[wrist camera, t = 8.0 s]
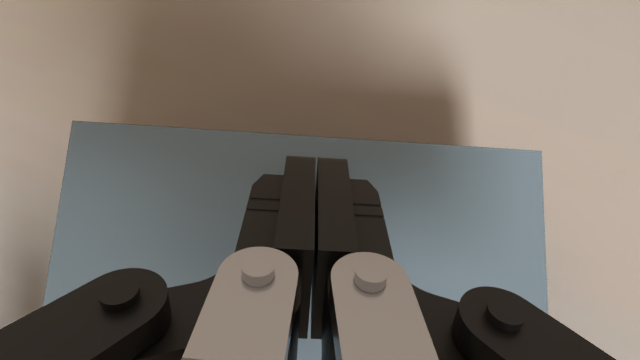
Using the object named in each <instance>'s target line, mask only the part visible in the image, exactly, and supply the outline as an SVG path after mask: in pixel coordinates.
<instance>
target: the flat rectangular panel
mask: <svg viewBox="0 0 640 360" xmlns="http://www.w3.org/2000/svg"><path fill="white" fill-rule="evenodd" d="M286 156H302V157H316V166H315V188H316V174H317V162H318V157H320V158H337V159H347V161H348V169H349V177H350V179H362V180H368V181H369V182H370V183H371V184H372V185H373V187H374V188H375V189H376V190H377V191H378V193H379V197H380V201H381V208H382V210H383V214H384V219H385V223H386V227H387V232H388V236H389V240H390V245H391V249H392V253H393V258H394V261H395V262H397V263H398V264H399V265H400V266H401V267H402V268H403V269H404V270H405V271H406V273H407V275H408V277H409V279H410V282H411V284H413V285H414V286H416V287H418V288H419V289H422V290H424V291H426V292H429V293H431V294H434V295H438V296H441V297H444V298H448V299H451V300H455V301H458V302H460V299H461V297H462V296H463V294H465V293H466V292H467V291H468V290H470V289H473V288H476V287H482V286H490V287H497V288H501V289H505V290H507V291H510V292H513V293H515V294H517V295H519V296H521V297H522V298H524V299H526V300H527V301H529V302H530V303H532V304H533V305H535V306H536V307H538V308H539V309H541V310H542V311H544V312H545V313H547V314H548V302H547V277H546V252H545V226H544V201H543V176H542V151H533V150H518V149H502V148H487V147H471V146H456V145H440V144H425V143H410V142H394V141H379V140H363V139H348V138H332V137H317V136H301V135H286V134H270V133H255V132H239V131H224V130H208V129H193V128H177V127H162V126H146V125H131V124H115V123H100V122H84V121H72V126H71V132H70V139H69V145H68V151H67V157H66V164H65V170H64V176H63V182H62V189H61V195H60V201H59V207H58V214H57V220H56V226H55V232H54V239H53V245H52V251H51V257H50V264H49V270H48V276H47V282H46V289H45V295H44V301H43V306H45V305H47V304H49V303H51V302H53V301H54V300H56V299H58V298H60V297H62V296H64V295H66V294H67V293H69V292H71V291H73V290H75V289H77V288H79V287H80V286H82V285H84V284H86V283H88V282H90V281H92V280H94V279H95V278H97V277H99V276H101V275H104V274H106V273H109V272H112V271H115V270H119V269H125V268H143V269H148V270H151V271H153V272H156V273H157V274H159V275H160V276H161V277H162V278H163V279H164V280H165V282H166V284H167V288H169V287H174V286H179V285H185V284H190V283H194V282H199V281H202V280H205V279H208V278H210V277H212V276H214V275H216V273H217V271H218V268H219V267H220V265H221V263H222V262H223V261H224V260H225V259H226V258H227V257H228V256H230V255H231V254H233V253H234V252H235V249H236V245H237V241H238V237H239V234H240V230H241V226H242V222H243V218H244V215H245V211H246V207H247V203H248V200H249V195H250V192H251V188H252V184H253V183H255V182H256V181H257V180H258V179H259V178H260V177H261V176H262V175H263V174H274V175H284V169H285V163H286ZM311 291H312V286H311ZM321 357H322V339H311V299H310V311H309V324H308V336H307V339H301V338H298V352H297V360H321Z"/></svg>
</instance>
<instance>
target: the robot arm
mask: <svg viewBox="0 0 640 360" xmlns="http://www.w3.org/2000/svg"><path fill="white" fill-rule="evenodd" d="M315 166H316V157H302V156H286V163H285V169H284V175H274V174H263V175H262V176H261V177H260V178H259V179H258V180H257V181H256V182H255V183H253V184H252V188H251V192H250V195H249V200H248V203H247V207H246V211H245V215H244V218H243V222H242V226H241V230H240V234H239V237H238V241H237V245H236V249H235V252H234V253H233V254H231V255H230V256H228V257H227V258H226V259H225V260H224V261H223V262H222V263H221V265H220V267H219V268H218V271H217V273H216V275H214V276H212V277H210V278H208V279H205V280H202V281H199V282H194V283H190V284H185V285H179V286H174V287H169V288H167V284H166V282H165V280H164V279H163V278H162V277H161V276H160V275H159V274H157V273H156V272H153V271H151V270H148V269H143V268H125V269H119V270H115V271H112V272H109V273H106V274H104V275H101V276H99V277H97V278H95V279H94V280H92V281H90V282H88V283H86V284H84V285H82V286H80V287H79V288H77V289H75V290H73V291H71V292H69V293H67V294H66V295H64V296H62V297H60V298H58V299H56V300H54V301H53V302H51V303H49V304H47V305H45V306H43V307H41V308H39V309H38V310H36V311H34V312H32V313H30V314H28V315H26V316H25V317H23V318H21V319H19V320H17V321H15V322H13V323H12V324H10V325H8V326H6V327H4V328H2V329H0V360H297V352H298V338H301V339H307V336H308V324H309V311H310V299H311V339H322V357H321V360H616V359H614V358H613V357H611V356H610V355H608V354H607V353H605V352H604V351H602V350H601V349H599V348H598V347H596V346H595V345H593V344H592V343H590V342H589V341H587V340H586V339H584V338H583V337H581V336H580V335H578V334H577V333H575V332H574V331H572V330H571V329H569V328H568V327H566V326H565V325H563V324H562V323H560V322H559V321H557V320H556V319H554V318H553V317H551V316H550V315H548V314H547V313H545V312H544V311H542V310H541V309H539V308H538V307H536V306H535V305H533V304H532V303H530V302H529V301H527V300H526V299H524V298H522V297H521V296H519V295H517V294H515V293H513V292H510V291H507V290H505V289H501V288H497V287H490V286H482V287H476V288H473V289H470V290H468V291H467V292H466V293H465V294H463V296H462V297H461V299H460V302H458V301H455V300H451V299H448V298H444V297H441V296H438V295H434V294H431V293H429V292H426V291H424V290H422V289H419V288H418V287H416V286H414V285H413V284H411V282H410V279H409V277H408V275H407V273H406V271H405V270H404V269H403V268H402V267H401V266H400V265H399V264H398V263H397V262H395V261H394V258H393V253H392V249H391V245H390V240H389V236H388V232H387V227H386V223H385V219H384V214H383V210H382V208H381V201H380V197H379V193H378V191H377V190H376V189H375V188H374V187H373V185H372V184H371V183H370V182H369V181H368V180H362V179H350V177H349V169H348V161H347V159H337V158H320V157H318V162H317V174H316V188H315ZM311 286H312V291H311Z"/></svg>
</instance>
